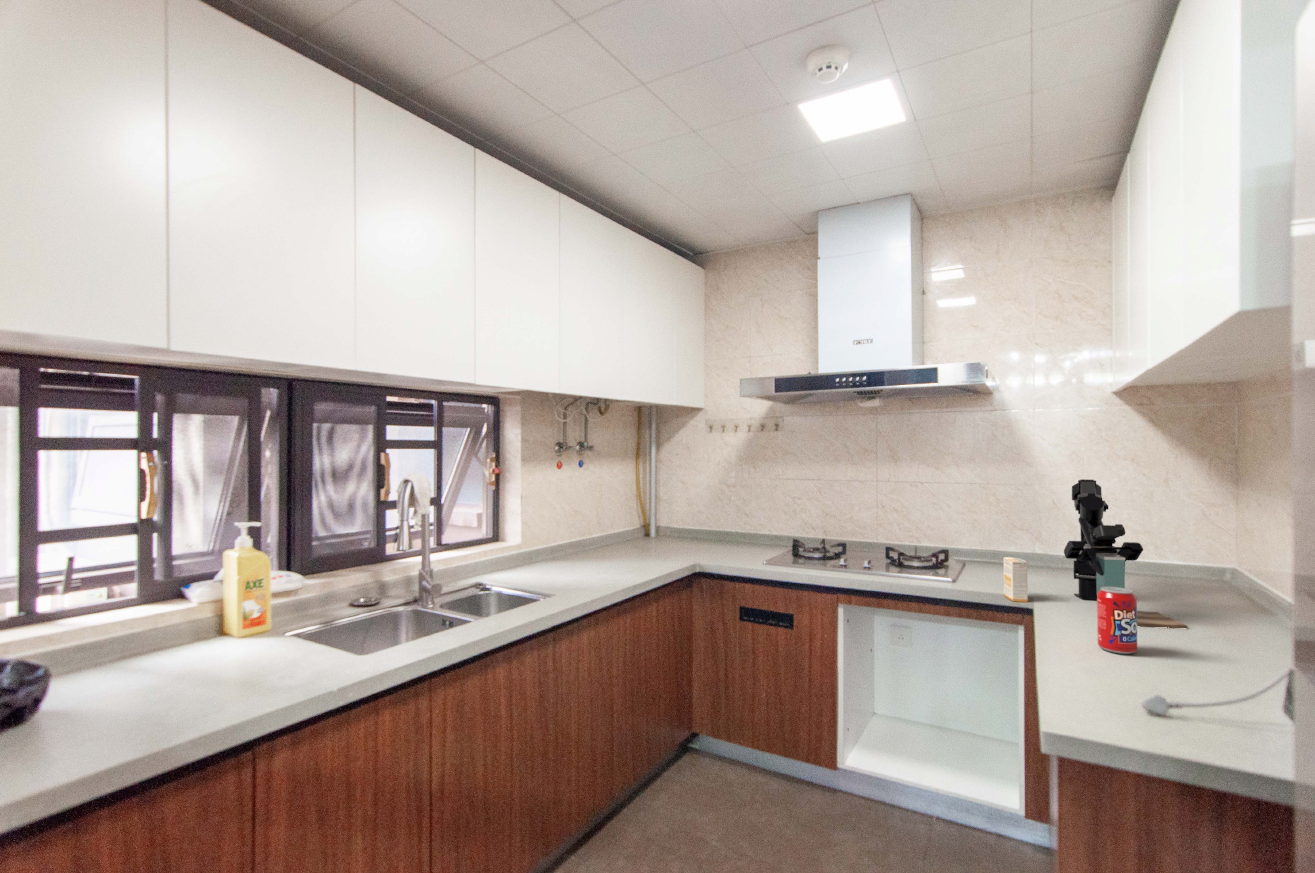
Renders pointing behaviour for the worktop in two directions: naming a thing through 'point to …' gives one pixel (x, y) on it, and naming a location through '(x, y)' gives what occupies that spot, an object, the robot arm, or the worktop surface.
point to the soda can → (1117, 620)
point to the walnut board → (1157, 620)
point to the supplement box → (1015, 579)
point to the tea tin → (1111, 571)
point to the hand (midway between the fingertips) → (1112, 575)
